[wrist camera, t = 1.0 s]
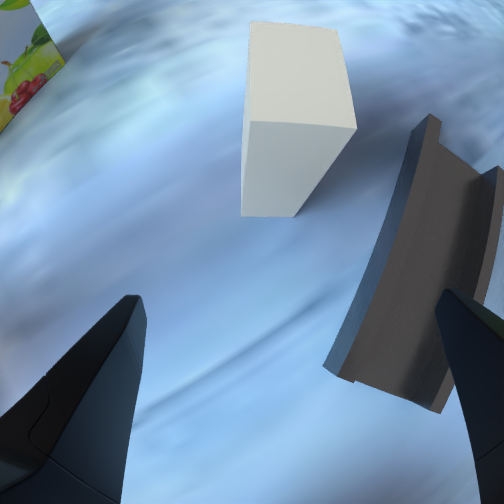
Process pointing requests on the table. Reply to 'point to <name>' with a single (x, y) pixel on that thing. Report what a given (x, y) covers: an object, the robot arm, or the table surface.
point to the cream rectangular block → (292, 115)
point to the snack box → (23, 56)
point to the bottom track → (420, 272)
